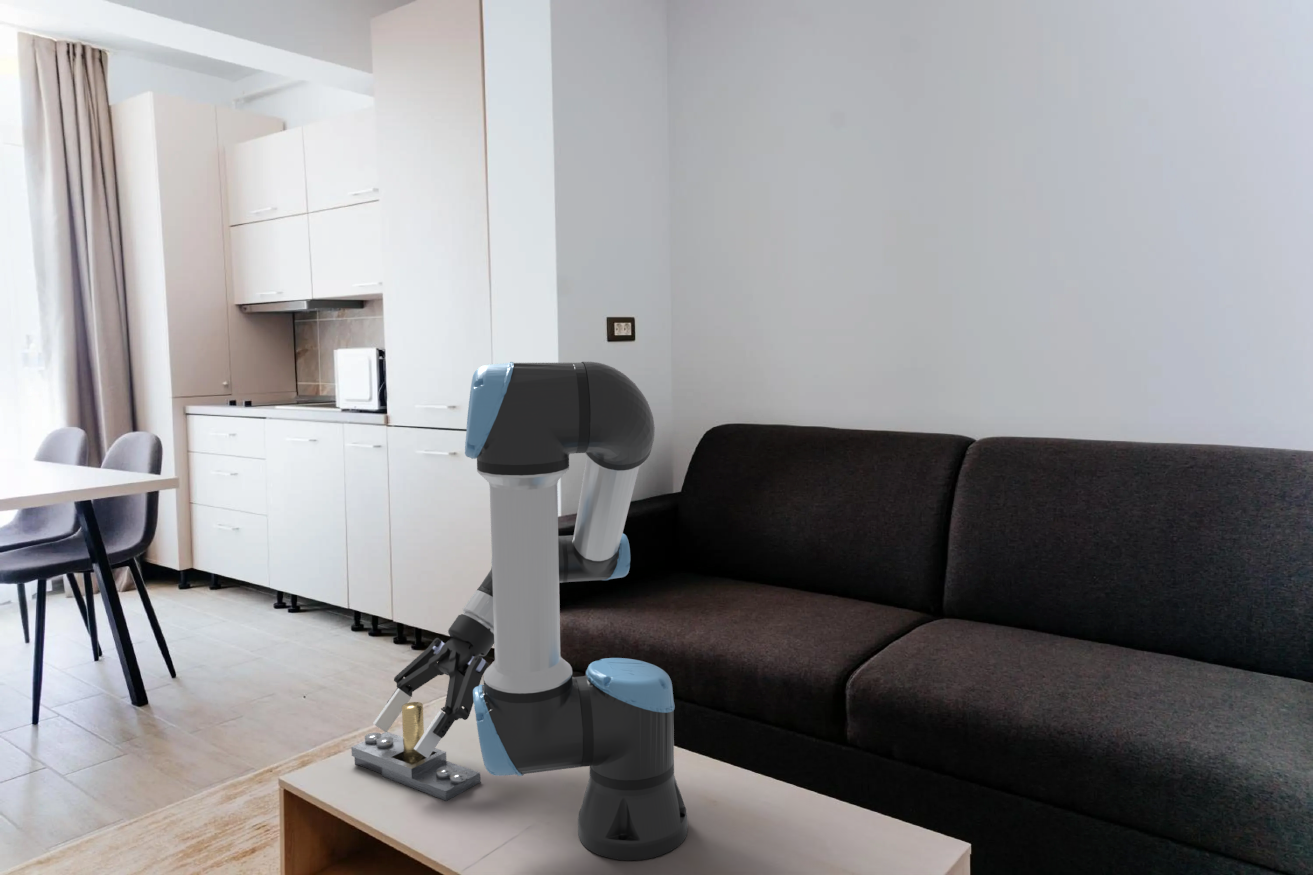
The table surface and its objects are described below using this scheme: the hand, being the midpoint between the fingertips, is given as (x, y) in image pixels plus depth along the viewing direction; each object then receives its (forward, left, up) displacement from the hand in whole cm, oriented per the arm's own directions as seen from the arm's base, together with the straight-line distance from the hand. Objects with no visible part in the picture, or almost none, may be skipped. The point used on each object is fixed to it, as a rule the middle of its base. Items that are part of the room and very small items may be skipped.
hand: (399, 740), depth 137 cm
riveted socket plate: (0, -2, -6) cm, 7 cm away
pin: (0, -2, -6) cm, 7 cm away
